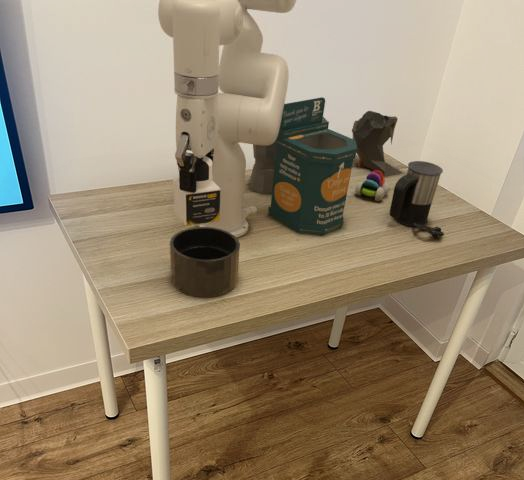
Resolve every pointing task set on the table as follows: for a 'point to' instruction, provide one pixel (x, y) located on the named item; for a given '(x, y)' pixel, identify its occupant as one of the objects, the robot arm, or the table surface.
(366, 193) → the rainbow caterpillar toy
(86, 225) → the table surface
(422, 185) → the milk frother
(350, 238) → the table surface
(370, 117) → the grey walrus sculpture
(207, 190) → the medicine bottle
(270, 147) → the coffeepot
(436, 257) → the table surface
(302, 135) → the donation box
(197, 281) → the bucket
